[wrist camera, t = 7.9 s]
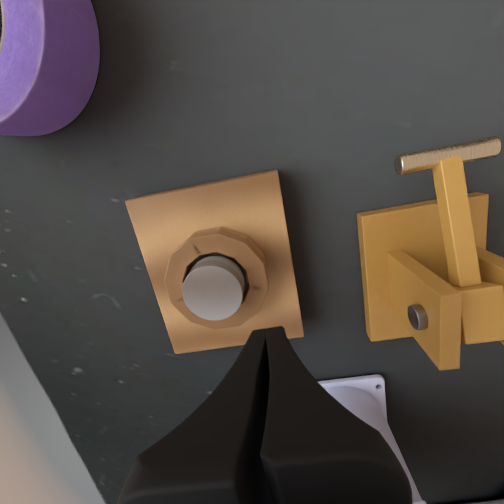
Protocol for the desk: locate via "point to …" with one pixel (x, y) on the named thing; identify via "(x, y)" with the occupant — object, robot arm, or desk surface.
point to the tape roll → (46, 64)
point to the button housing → (220, 244)
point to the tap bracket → (418, 276)
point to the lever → (462, 233)
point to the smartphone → (487, 502)
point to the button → (214, 288)
